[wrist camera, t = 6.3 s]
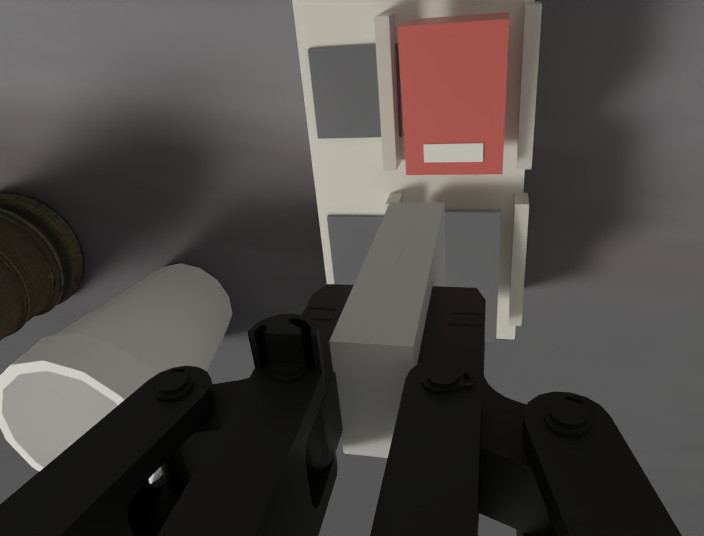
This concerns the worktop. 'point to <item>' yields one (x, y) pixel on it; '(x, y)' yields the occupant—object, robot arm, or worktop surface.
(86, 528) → the robot arm
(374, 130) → the switch panel
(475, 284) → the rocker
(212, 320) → the foam cup
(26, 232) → the container
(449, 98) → the plate
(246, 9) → the worktop surface
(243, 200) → the worktop surface
